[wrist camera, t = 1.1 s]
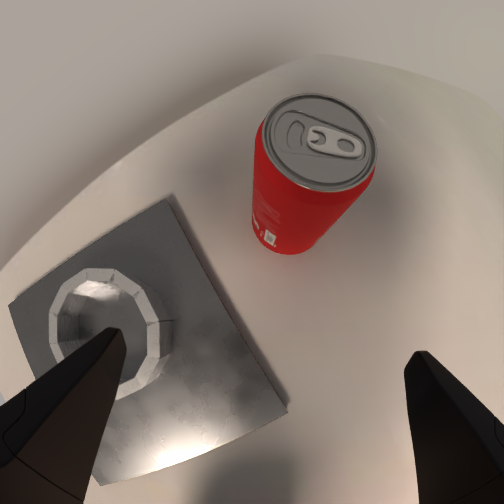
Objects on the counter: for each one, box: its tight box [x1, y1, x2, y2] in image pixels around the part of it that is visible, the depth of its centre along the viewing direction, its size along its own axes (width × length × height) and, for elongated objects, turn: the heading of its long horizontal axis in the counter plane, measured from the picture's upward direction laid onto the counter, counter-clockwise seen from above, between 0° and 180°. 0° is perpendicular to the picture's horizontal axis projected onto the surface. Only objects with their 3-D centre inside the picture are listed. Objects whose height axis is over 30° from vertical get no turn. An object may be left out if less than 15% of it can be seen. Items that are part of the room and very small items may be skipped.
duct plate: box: [8, 199, 288, 486], centre depth 18 cm, size 18×18×4 cm
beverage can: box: [252, 93, 377, 255], centre depth 17 cm, size 5×5×12 cm
